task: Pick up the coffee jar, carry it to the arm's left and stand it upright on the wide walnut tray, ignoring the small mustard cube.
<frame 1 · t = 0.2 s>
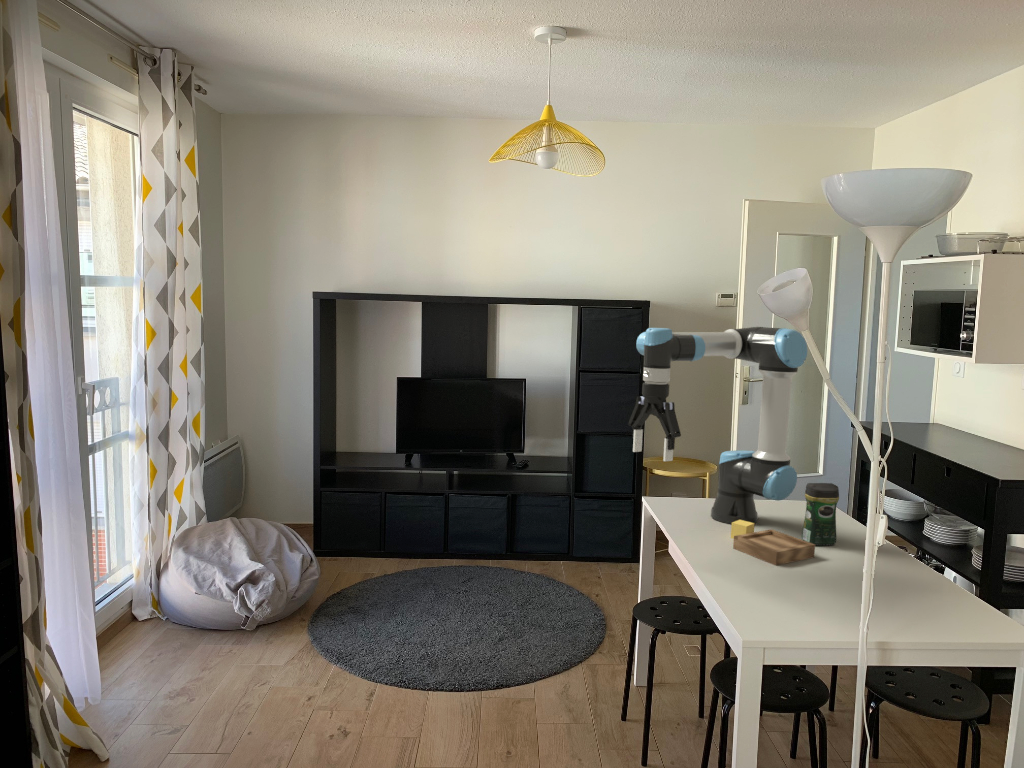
hand: (652, 456, 226), 28 cm above the table, fingers open, 13 cm apart
mustard cube: (742, 538, 244), on the table
walnut tray: (773, 552, 231), on the table
coffee jar: (818, 543, 243), on the table
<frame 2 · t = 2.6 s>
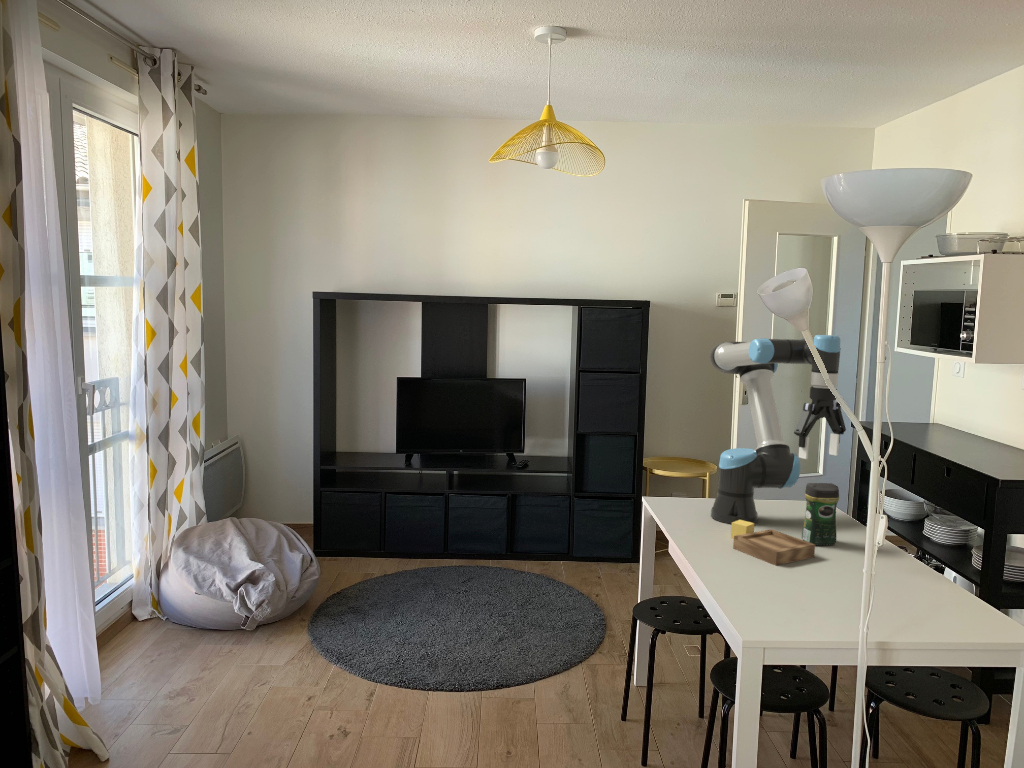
hand: (818, 456, 239), 27 cm above the table, fingers open, 13 cm apart
nothing on the table moved.
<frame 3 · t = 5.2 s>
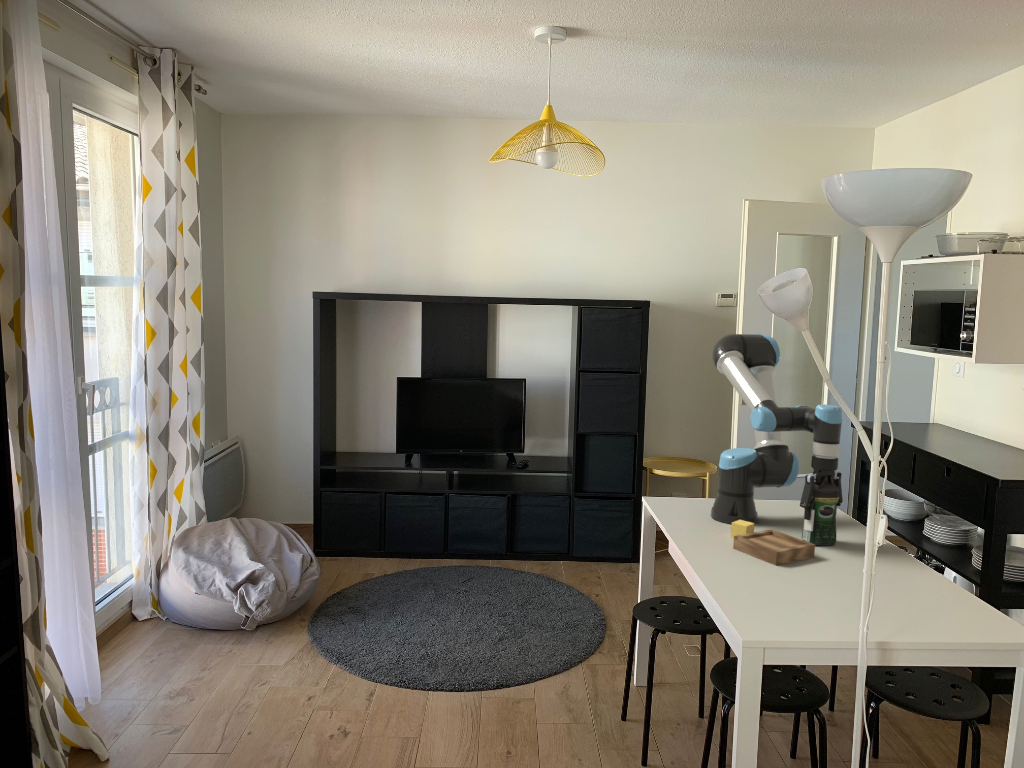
hand: (819, 527, 242), 5 cm above the table, fingers closed on coffee jar, 9 cm apart
coffee jar: (818, 543, 243), on the table, touching gripper
everything else where it was.
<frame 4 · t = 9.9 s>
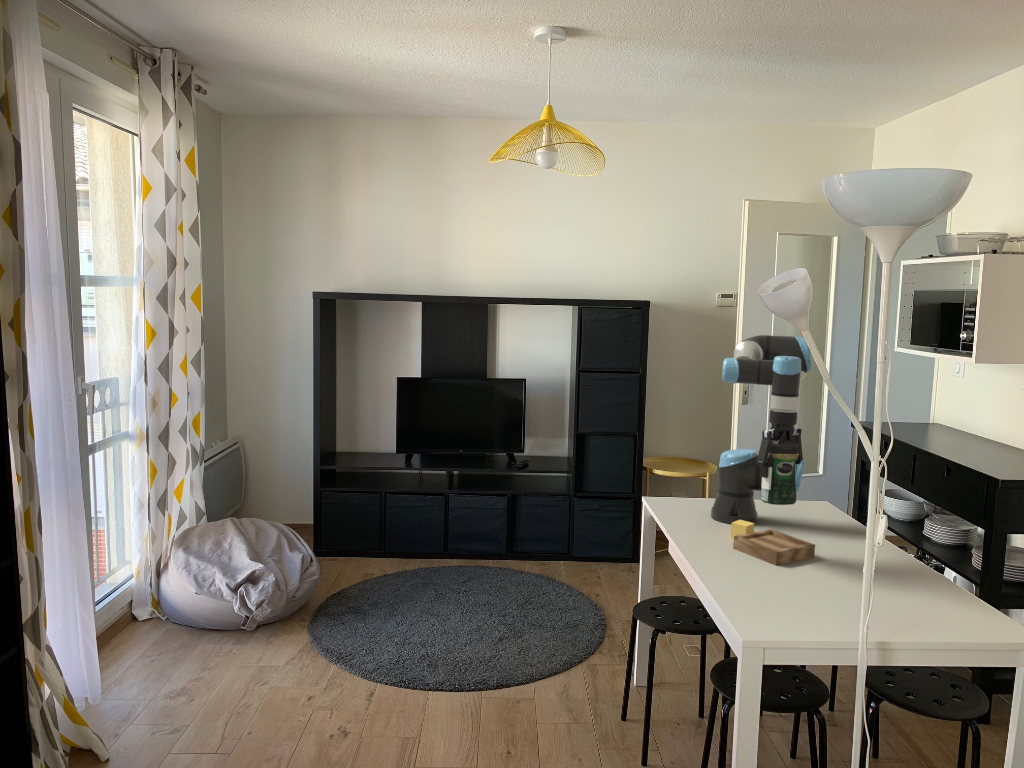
hand: (778, 486, 229), 20 cm above the table, fingers closed on coffee jar, 9 cm apart
coffee jar: (777, 503, 229), point 15 cm above the table, touching gripper
everything else where it was.
when the fingers open (8 cm above the table, at t = 14.1 s): coffee jar stays where it is, resting on walnut tray.
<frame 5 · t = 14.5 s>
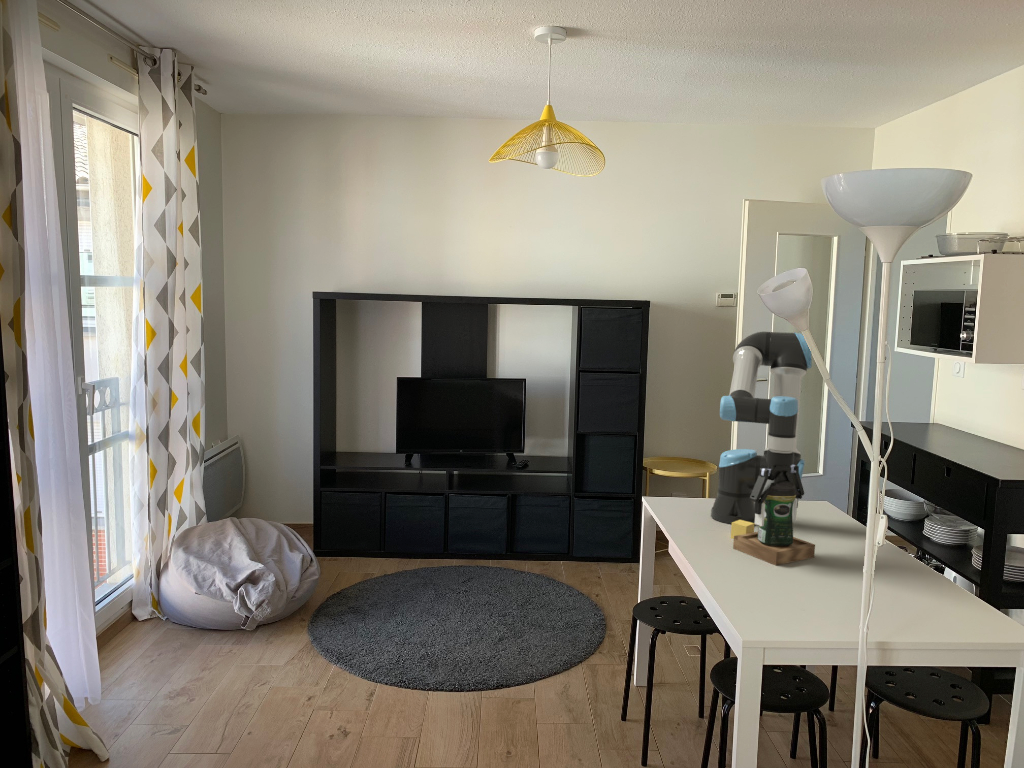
hand: (775, 522, 230), 9 cm above the table, fingers open, 13 cm apart
coffee jar: (774, 543, 231), point 3 cm above the table, touching walnut tray
everything else where it was.
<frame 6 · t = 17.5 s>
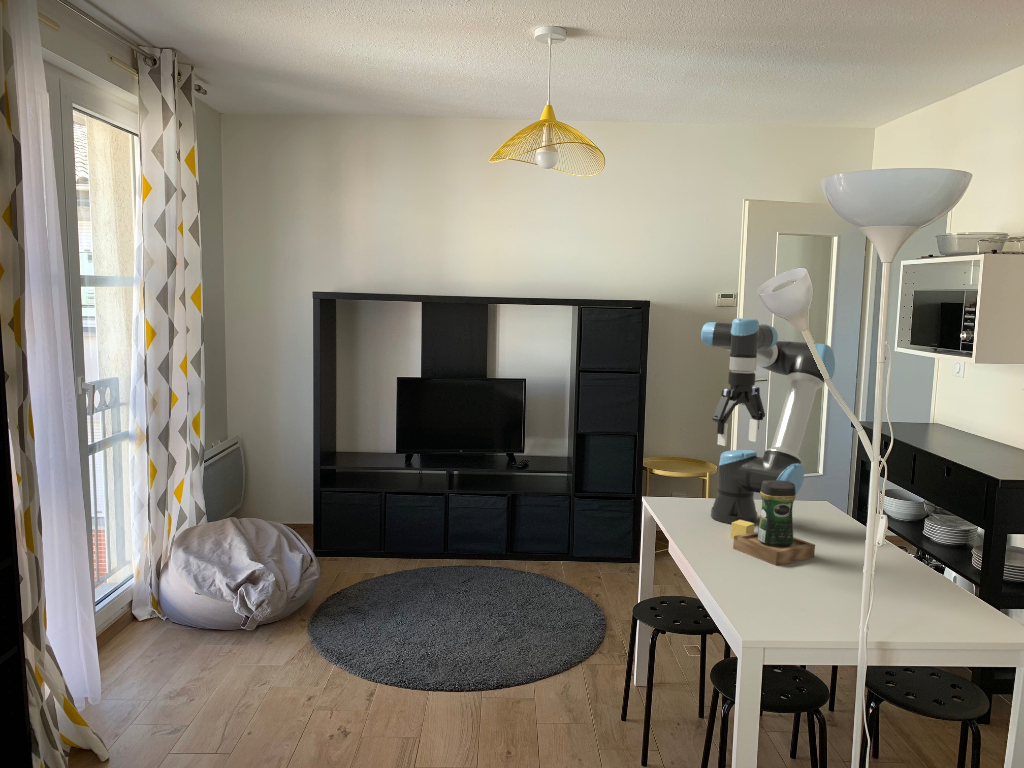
hand: (737, 443, 233), 31 cm above the table, fingers open, 13 cm apart
nothing on the table moved.
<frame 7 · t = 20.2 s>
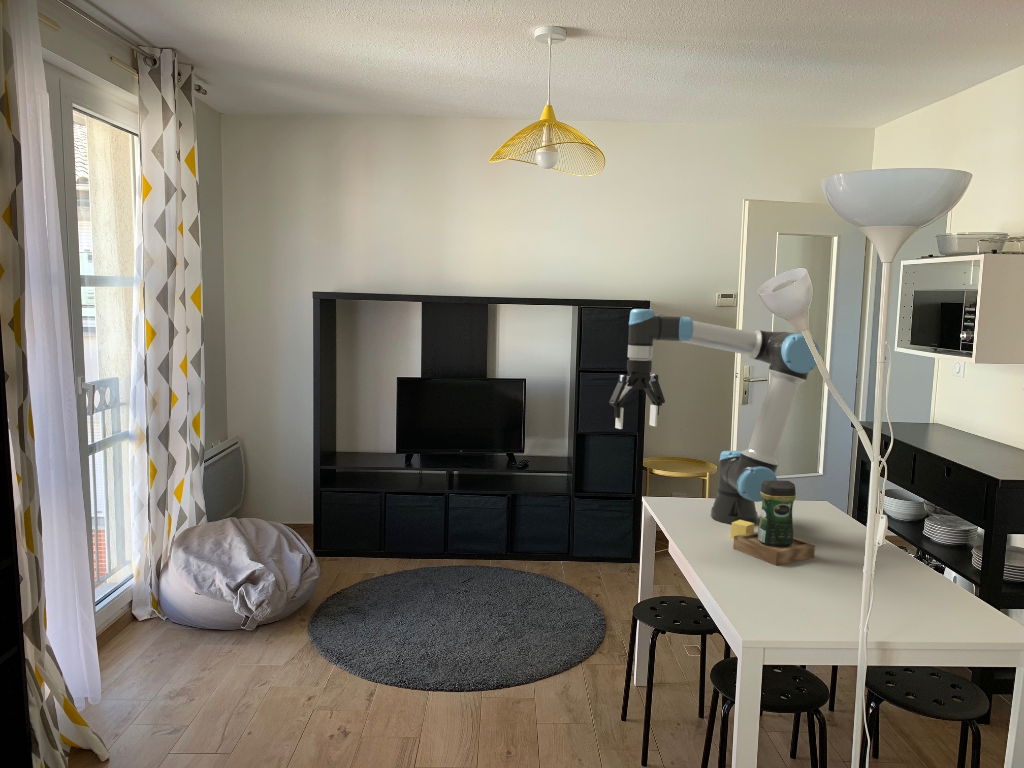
hand: (636, 427, 246), 33 cm above the table, fingers open, 13 cm apart
nothing on the table moved.
at the end: coffee jar inside the target area on the walnut tray (0.1 cm from its centre), point 2.8 cm above the walnut tray's base; coffee jar tilted 0°; the gripper is holding nothing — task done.
